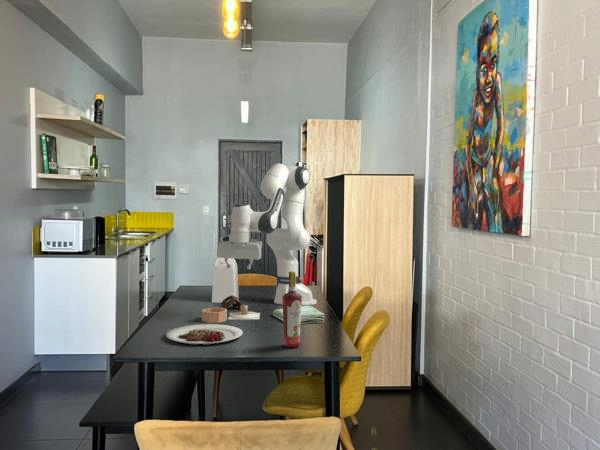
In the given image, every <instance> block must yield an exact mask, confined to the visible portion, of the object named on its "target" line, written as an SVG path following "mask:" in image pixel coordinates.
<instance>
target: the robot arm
mask: <svg viewBox="0 0 600 450" xmlns="http://www.w3.org/2000/svg"><path fill="white" fill-rule="evenodd" d="M310 178H311V175H310V171H309V170H308V168H307V167H305V166H301V165H299V166H296V165H285V164H284V163H283V164H282V163H279V162H278V163H274V164H273V165H271V167H270V168H269V169H268V170H267V172H266V173H265V175H264V177H263V178H262V179H261V181H260V192H261V193H262V195H264V197H265V198H267V199H268V200H271V202H270V206H269V209H267V210H266V211H254V210H253V209H252V207H251V205H250V204H249V203H236V204H234V205H233V208H232V209H231V211H232V212H231V217H230V219H231V221H230V223H231V228H230V234H227V235H223V236H221V237H220V238H219V239H220V241H219V244H218V246H217V249H216V256H217V258H218V257H219V258H224V261H225V263H226V264H227V266H226V268H230V264H228V261H227V260H228V258H234V259H235V260H236V259H237V260H239V259H240V260H249V264H247V265H246V269H247V270H251V269H252V268H251V266H252V265H253V263H254V260H257V261H258V260H260V259H262V248H263V242H262V241H261V240H260V239H257V238H256V239H255V238H254V239H253V238H250V237H251V236H250V235H251V233H263V234H267V235H266V240H265V241H266V243H267V245H268V246H269V247H270V248H271V250H272V252H273V253H274V255H275V259H276V274H277V275H276V277H275V278H276V279H275V285H276V292H275V298H274V300H273V303H274V304H277V305H282V306H283V299H282V296H283V295H284V294H286V293H288V289H289V272H290V271H294V272H296V279H295V283H296V293H298V294H300V295H301V296H302V306H305V305H310V306H312V305H316V304H317V303H318V302H317V299H315V298H313V293H312V290H311V289H310V288H309V287H307V285H305V284H304V283H302V282H303V281H304V278H303V277H302V276H300V275H299V261H298V259H297V258H296V257H295V256H294V255H293V253H292V251H303V250H306V249H307V248H308V247H309V245H310V244H311V236H310V234H309V232H308V231H307V230H306V228H305V226H304V223H303V213H304V206H305V196H306V195H305V192H306V191H305V188H306V187H307V185H308V184H309V182H310ZM284 188H286V189H285V191H284ZM280 215H281V218H282V219H283V220H284V221H285V222H286V224H287V226H286V227H287V228H281V227H278V228H277V226H278V223H279V218H280Z"/></svg>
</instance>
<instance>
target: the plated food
mask: <svg viewBox="0 0 600 450" xmlns="http://www.w3.org/2000/svg"><path fill="white" fill-rule="evenodd" d="M243 334H244V333H243V330H242V329H241V328H239V327H235V326H232V325H228V324H227V325H226V324H218V323H217V324H216V323H212V324H211V323H206V324H205V323H204V324H203V323H202V324H191V325H190V324H189V325H184V326H180V327H174V328H173V329H172V328H171V329H170V330H168V331H167V332H166V333H165V336H166V338H167V339H168V340H170V341H174V342H178V343H182V344H187V345H198V344H203V345H213V344H215V343H216V344H221V343H222V344H223V343H226V342H229V341H232V340H236V339H238V338H241V337H242V336H243ZM216 344H215V345H216Z"/></svg>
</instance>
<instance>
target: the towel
mask: <svg viewBox="0 0 600 450" xmlns="http://www.w3.org/2000/svg"><path fill="white" fill-rule="evenodd" d="M272 316H273V317H275V318H277V319H279V320H281V322H283V308H277V309H274V310H273V311H272ZM325 316H326V314H325V313H324V312H322V311H320V310H318V308H316V307H314V306H312V305H302V307H301V322H300V325H306V324H307V325H308V324H316V323H318V324H321V323H324V322H325Z"/></svg>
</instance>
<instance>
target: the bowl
mask: <svg viewBox="0 0 600 450" xmlns="http://www.w3.org/2000/svg"><path fill="white" fill-rule="evenodd" d="M227 320H228V308H222V307H207V308H203V309H202V310H201V322H203V323H206V324H211V323H212V324H216V323H217V324H218V323H222V322H227Z"/></svg>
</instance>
